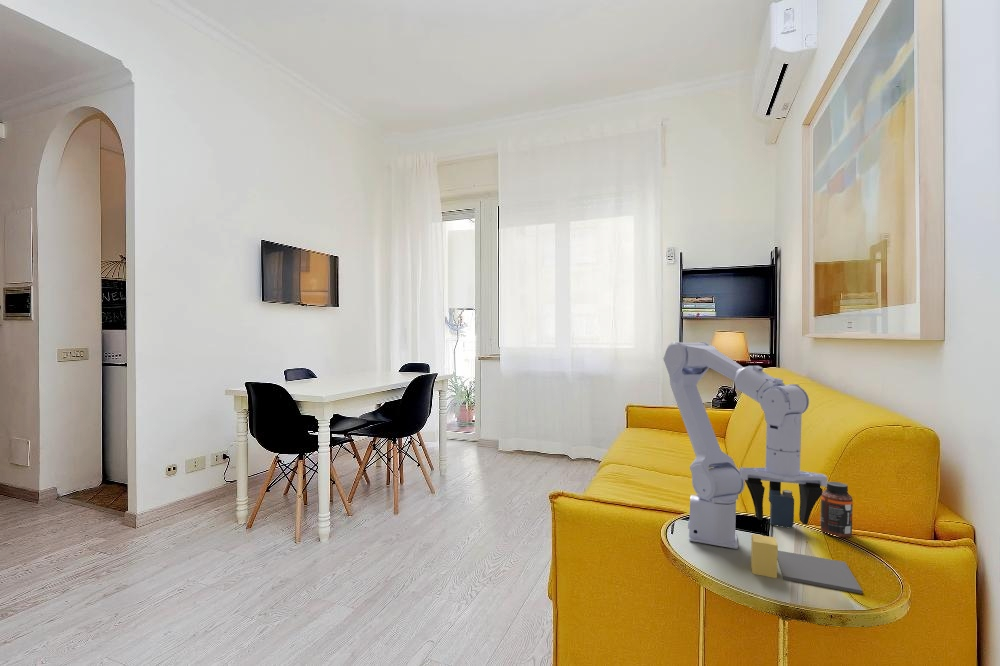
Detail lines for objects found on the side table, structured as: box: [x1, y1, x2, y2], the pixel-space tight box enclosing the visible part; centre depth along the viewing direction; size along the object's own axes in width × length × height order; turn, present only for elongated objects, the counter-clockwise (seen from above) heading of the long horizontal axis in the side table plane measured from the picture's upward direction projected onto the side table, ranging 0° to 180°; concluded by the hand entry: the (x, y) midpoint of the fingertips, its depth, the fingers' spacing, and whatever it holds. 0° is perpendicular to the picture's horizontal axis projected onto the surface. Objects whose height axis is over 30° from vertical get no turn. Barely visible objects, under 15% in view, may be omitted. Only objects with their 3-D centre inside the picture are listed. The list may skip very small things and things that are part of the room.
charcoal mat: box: [777, 550, 863, 595], centre depth 94 cm, size 12×12×1 cm
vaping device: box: [768, 481, 795, 528], centre depth 117 cm, size 3×5×12 cm, turn 67°
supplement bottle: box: [820, 481, 854, 539], centre depth 113 cm, size 6×6×11 cm
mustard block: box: [750, 533, 779, 579], centre depth 94 cm, size 4×4×6 cm
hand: (781, 520), depth 94 cm, fingers open, 7 cm apart
